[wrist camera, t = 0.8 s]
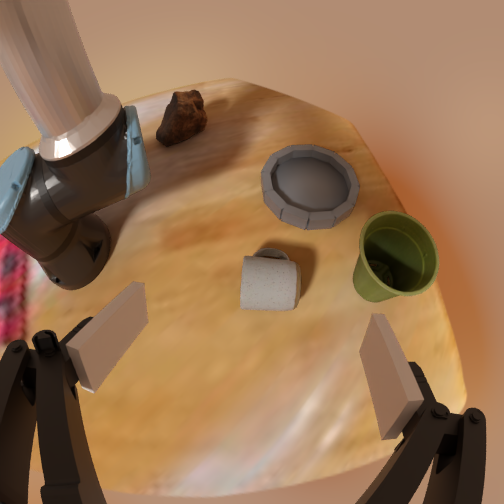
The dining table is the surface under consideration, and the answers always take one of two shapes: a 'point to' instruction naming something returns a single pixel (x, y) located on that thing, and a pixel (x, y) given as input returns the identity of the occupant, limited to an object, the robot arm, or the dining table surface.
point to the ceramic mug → (270, 281)
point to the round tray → (309, 186)
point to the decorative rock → (182, 118)
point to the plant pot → (395, 257)
